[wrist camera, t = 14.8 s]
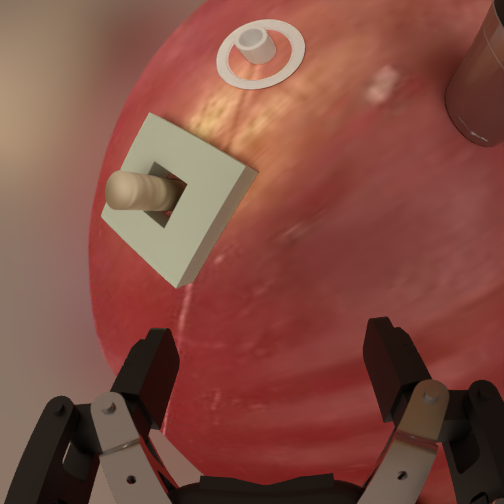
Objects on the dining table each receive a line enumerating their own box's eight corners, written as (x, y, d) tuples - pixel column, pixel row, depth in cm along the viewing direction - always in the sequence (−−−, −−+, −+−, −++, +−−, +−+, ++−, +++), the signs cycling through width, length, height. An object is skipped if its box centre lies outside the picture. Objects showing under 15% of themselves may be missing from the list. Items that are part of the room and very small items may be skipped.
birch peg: (175, 175, 36) (114, 164, 26) (196, 190, 35) (136, 181, 25) (161, 201, 37) (100, 198, 27) (181, 217, 36) (120, 217, 26)
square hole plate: (167, 120, 36) (149, 112, 32) (258, 172, 32) (245, 166, 28) (119, 216, 40) (100, 216, 36) (193, 281, 37) (175, 288, 33)
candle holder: (213, 95, 33) (196, 82, 29) (224, 28, 32) (211, 12, 28) (304, 90, 29) (296, 74, 25) (307, 19, 28) (300, 0, 24)
